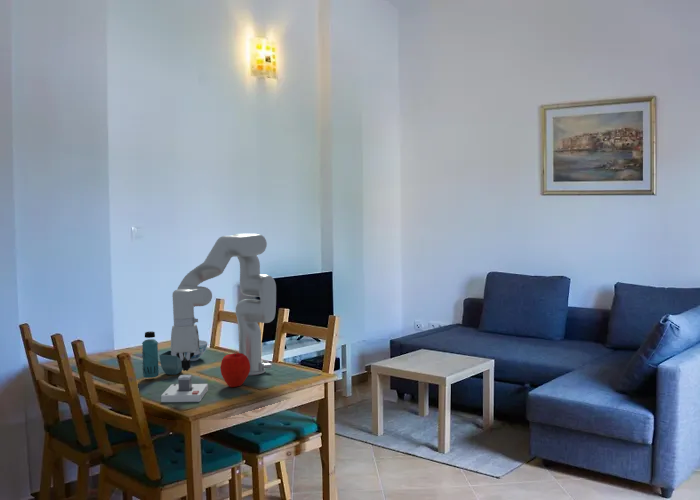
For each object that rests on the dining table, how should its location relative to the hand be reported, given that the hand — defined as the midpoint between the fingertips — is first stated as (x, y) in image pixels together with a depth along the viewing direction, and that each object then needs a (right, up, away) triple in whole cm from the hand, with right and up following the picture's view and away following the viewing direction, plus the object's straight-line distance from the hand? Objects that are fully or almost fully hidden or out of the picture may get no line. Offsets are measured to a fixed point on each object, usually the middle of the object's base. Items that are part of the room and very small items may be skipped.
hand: (186, 369), depth 261 cm
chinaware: (-12, -6, +63) cm, 64 cm away
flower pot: (-14, -8, +36) cm, 39 cm away
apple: (+17, -9, +13) cm, 23 cm away
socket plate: (0, -10, 0) cm, 10 cm away
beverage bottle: (-21, -9, +26) cm, 34 cm away
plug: (0, -9, 0) cm, 9 cm away
